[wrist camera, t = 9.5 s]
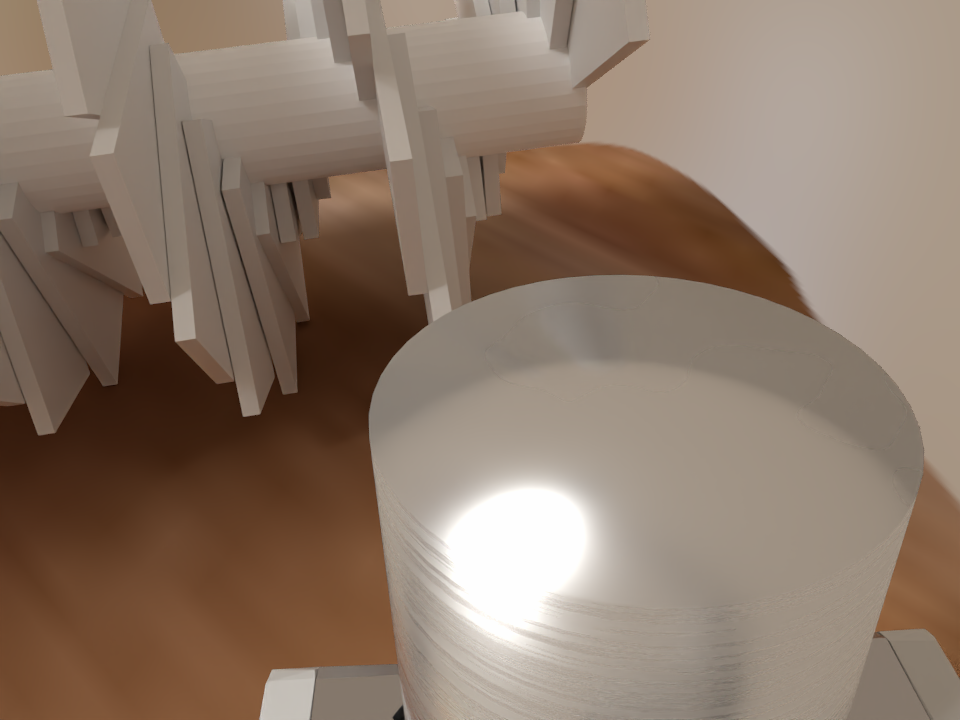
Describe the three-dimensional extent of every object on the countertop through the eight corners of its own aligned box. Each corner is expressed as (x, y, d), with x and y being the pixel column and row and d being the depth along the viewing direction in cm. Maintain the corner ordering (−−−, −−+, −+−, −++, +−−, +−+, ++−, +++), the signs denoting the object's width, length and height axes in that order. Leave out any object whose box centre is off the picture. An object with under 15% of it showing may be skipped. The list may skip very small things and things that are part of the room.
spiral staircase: (-61, 425, 36) (554, 330, 38) (-483, 600, 18) (697, 407, 21) (-174, -55, 33) (494, -129, 35) (-790, -382, 16) (599, -490, 18)
